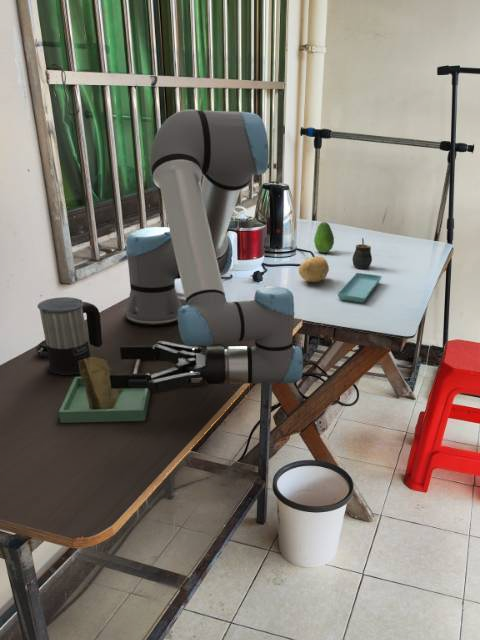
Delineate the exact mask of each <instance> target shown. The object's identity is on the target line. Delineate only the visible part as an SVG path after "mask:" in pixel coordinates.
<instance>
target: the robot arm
mask: <svg viewBox="0 0 480 640" xmlns="http://www.w3.org/2000/svg"><path fill="white" fill-rule="evenodd" d="M269 149H270V148H269V140H268V134H267V129H266V125H265V123H264V121H263V119H262V118H261V116H260V115H259V114H256V113H254V112H245V111H242V110H240V111H229V110H227V111H226V110H203V109H202V110H197V109H183V110H179V111H178V112H175V113H173V114H172V115H170V116H168V118H167V119H165V121H164V122H163V123H162V124H161V126H160V127H159V128H158V130H157V132H156V134H155V136H154V138H153V140H152V144H151V148H150V155H149V156H150V158H149V159H150V160H149V163H150V165H149V166H150V167H149V168H150V172H151V176H152V181H153V183H154V185H155V186H156V187H157V188H159V189H160V193H161V198H162V203H163V206H164V211H165V215H166V216H165V217H166V220H167V224H168V227H165V226H151V227H144V228H140V229H137V230H134V231H132V232H130V233H129V234H128V235H127V237H126V239H125V242H126V245H125V246H126V251H125V255H126V257H127V265H128V275H129V287H130V292H129V297H128V301H127V304H126V309H125V315H126V316H125V317H126V320H127V321H128V322H130V323H131V324H134V325H137V326H138V325H139V326H143V327H144V326H145V327H162V326H169V325H174V324H176V323H177V324H178V332H179V336H180V339H181V341H182V343H184V344H180V343H174V342H169V341H164V340H158V341H157V343H156V344H154V345H120V346H119V353H120V360H137V359H150V360H154V361H157V360H163V361H165V362H168V363H172V364H175V366H173V367H171V368H168V369H164V370H161V371H160V372H156V373H153V374H151V373H149V372H146V373H138V374H133V373H115V374H110V383H111V389H128V388H147V389H148V390H149V391H150V395H151V396H152V395H154V396H155V395H158V394H162V393H167V392H172V391H177V390H180V389H184V388H185V389H186V388H190V387H200V386H202V385H201V378H203V379H204V378H205V381H206V384H208V385H224V384H225V382H227V383H228V384H229V385H232V384H233V385H234V384H237V385H238V386H242V385H244V384H247V385H248V384H278V385H282V384H293V383H298V382H300V381H301V380H302V377H303V370H304V363H303V362H304V357H303V350H302V348H301V347H300V346H297V345H296V346H295V345H294V343H293V342H294V341H293V337H294V336H293V335H294V321H295V300H294V294H293V292H291V290H289V289H288V288H286V287H284V286H277V285H266V286H264V287H259V288H257V289H256V290H255V294H254V299H252V300H241V301H240V300H239V301H227V297H226V293H225V289H224V283H223V280H222V276H224V275H226V274H227V273H228V272H229V271H230V268H231V267H232V263H233V254H234V253H233V252H234V251H233V244H232V240H231V238H230V236H229V235H228V233H227V232H228V230H229V227H230V224H231V220H232V217H233V214H234V211H235V207H236V205H237V202H238V198H239V196H240V193H241V191H242V190H244V189H245V188H246V187H248V186H249V185H250V184H251V181H252V179H253V176H254V175H257V176H260V175H263V174H265V173H266V172H267V170H268V167H269V160H270V150H269ZM201 180H202V182H201ZM200 182H201V186H200ZM176 279H180V283H181V288H182V291H183V296H184V300H185V305H182V302H181V300H180V297H179V295H178V292H177V290H176V283H175V281H176ZM247 341H254V345H255V346H254V345H253V346H245V345H242V346H241V345H240V346H238V345H236V346H235V345H233V346H231V345H230V346H227V347H226V348H224V347H223V346H212V345H220V344H227V343H234V342H247ZM204 346H206V347H205V350H204V351H205V352H204V353H203V347H204ZM202 353H203V354H202ZM154 355H155V359H154ZM188 379H189V380H188Z"/></svg>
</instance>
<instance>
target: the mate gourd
mask: <svg viewBox="0 0 480 640" xmlns="http://www.w3.org/2000/svg"><path fill="white" fill-rule="evenodd" d="M361 243H362V244H356V245H355V250H354V253H353V255H352V258H351V259H352V260H351V261H352V265H353V266H354V268H356V269H360V270H366V269H368V268H369V267H370V266H371V264H372V262H373V257H372V252H371V251H372V247H371V245H368V244H365V240H364V237H363V238H362V237H361Z"/></svg>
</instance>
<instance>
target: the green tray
mask: <svg viewBox="0 0 480 640" xmlns="http://www.w3.org/2000/svg"><path fill="white" fill-rule="evenodd" d="M150 398H151V394H150V391H149V390H148V389H147V388H128V389H122V390H121V391H120V392H119V396H118V399H117V402H116V403H115V405H114V406H113V407H112V408H110V409H95V410H92V409H91V408H90V407H89V404H88V400H87V395H86V388H85V385H84V382H83V380H82V377H81V376H74V378H73V381H72V382H71V385H70V386H69V389H68V391H67V393H66V395H65V398H64V399H63V402H62V404H61V406H60V408H59V410H58V417H59V422H60V423H61V424H68V423H69V424H72V423H73V424H74V423H109V422H110V423H112V422H145V421H146V417H147V413H148V407H149V402H150Z"/></svg>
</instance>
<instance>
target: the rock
mask: <svg viewBox="0 0 480 640" xmlns="http://www.w3.org/2000/svg"><path fill="white" fill-rule="evenodd" d="M78 363H79V368H80V374H79V375H80V377H82V380H83V382H84V385H85V388H86V395H87V400H88V404H89V407H90V408H91V409H92V410H95V409H110V408H112V407H113V406H114V405H115V403H116V402H117V399H118V396H119V392H120V391H121V390H122V389H111V383H110V374H116V372H115V371H114V370H113V369H112V367H110V365H109V363H108V360H107V359H103V358H100V357H96V356H91V357H89V358H87V359H82V360H80V361H78Z"/></svg>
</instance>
